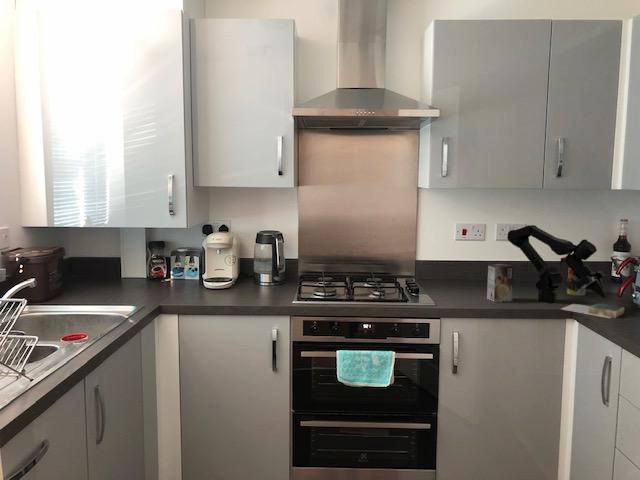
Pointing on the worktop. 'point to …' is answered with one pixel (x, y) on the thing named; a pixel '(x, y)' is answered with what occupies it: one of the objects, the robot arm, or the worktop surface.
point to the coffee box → (500, 282)
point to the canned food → (579, 292)
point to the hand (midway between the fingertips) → (604, 297)
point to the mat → (580, 309)
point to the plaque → (606, 310)
